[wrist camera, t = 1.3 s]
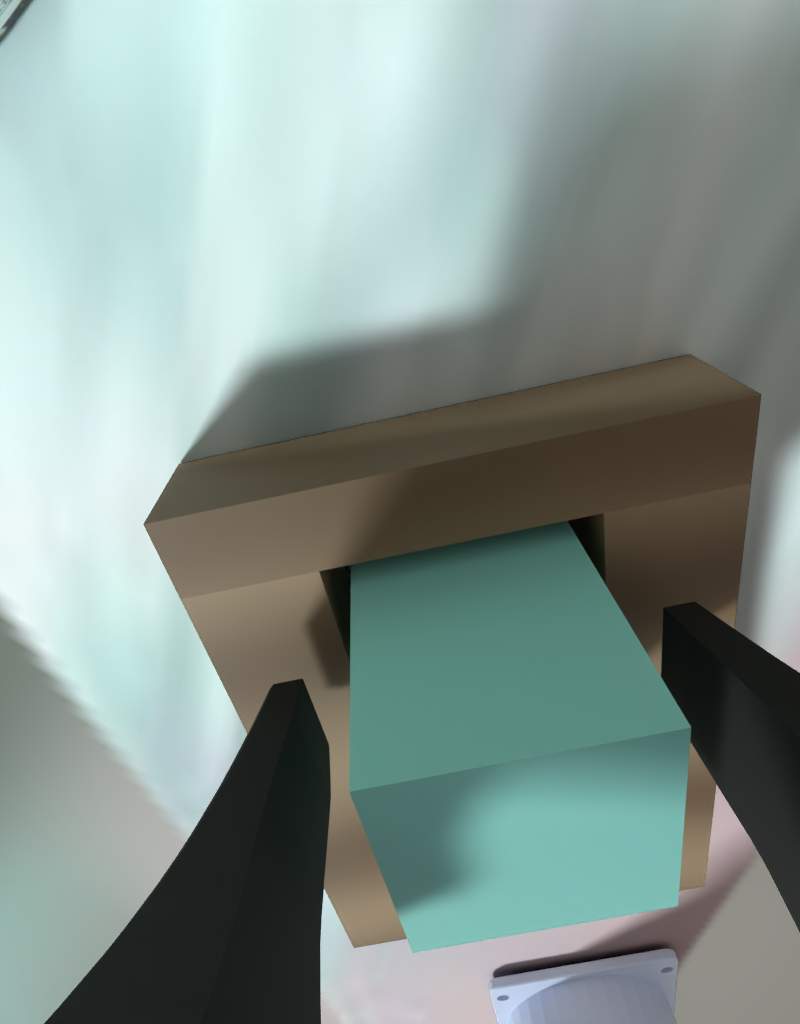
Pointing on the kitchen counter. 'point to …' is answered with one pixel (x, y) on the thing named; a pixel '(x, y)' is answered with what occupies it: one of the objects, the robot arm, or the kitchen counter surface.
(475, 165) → the kitchen counter surface
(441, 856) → the teal block
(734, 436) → the pocket plate
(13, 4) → the syrup box
